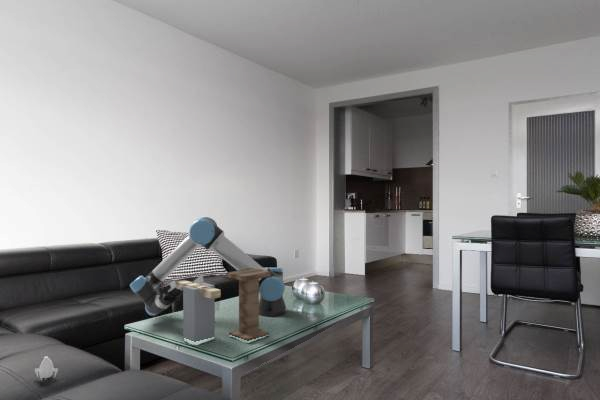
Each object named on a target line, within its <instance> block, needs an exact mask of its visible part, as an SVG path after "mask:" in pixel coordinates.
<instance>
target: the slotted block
mask: <svg viewBox="0 0 600 400" xmlns="http://www.w3.org/2000/svg"><path fill="white" fill-rule="evenodd" d="M199 284H201V285H204V286H208V287H212V288H216V286H215V285H214V284H210V283H206V282H202V283H199ZM182 296H183V298H182V299H183V300H182V302H183V303H182V306H183V307H182V309H183V310H182V311H183V315H182V316H183V318H182V319H183V320H182V321H183V322H182V323H183V326H182V327H183V328H182V329H183V331H182V333H183V338H186V339H189V340H191V341H194V342H196V341H200V340H204V339H208V338H212V337H215V338H216V333H215V332H216V331H215V329H216V327H215V326H216V325H215V324H216V322H215V321H216V317H215V315H216V307H215V305H216V304H215V303H216V301H215V300H216V298H215V299H210V298H207V297H203V296H200V295H199V289H198V288H194V287H191V286H184V287H183V294H182Z"/></svg>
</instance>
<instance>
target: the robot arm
mask: <svg viewBox="0 0 600 400" xmlns="http://www.w3.org/2000/svg"><path fill="white" fill-rule="evenodd" d="M199 247H203V248H205V250H207V251H213V252H214V253H215V254H216V255H218V256H219V257H220V258H222V259H223V261H225V262H226V263H228V264H229V265H230V266H231V267H233V268H234V269H235V271H238V270H243V269H249V268H255V269H260V270H265V271H270V276H269V277H264V278H259V316H263V317H278V316H279V317H280V316H282V315H285V314H286V313H287V305H286V303H285V300H284V299H285V298H284V297H283V296H284V293H285V287H286V286H285V283H284V278H283V277H284V270H283V268H282V267H268V266H267V267H263V266H262V265H260V264H259V263H258V262H257V261H255V260H254V259H253V258H252V257H251V256H250V255H248V254H247V253H245V251H244V250H242V249H241V248H240V247H238V246H237V245H236V244H235V243H234V242H232V241H231V240H230V239H229V238H227V237H226V236H225V231H224V230H222V228H220V227H219V226H218V224H217V222H216V221H215V220H214V219H213V218H211V217H209V216H208V217H201V218H198V219H196V220H194V222H192V224H191V225H190V227H189V232H188V235H187V236H186V238H185V237H184V239H183V240H182V241H181V242H180V243H179V244H178V245H177V246H176V247H175V248H174V249H173V250H172V251H171V252H170V253H169V254H168V255H166V257H165V258H164V259H163V260H162V261H160V263H158V265H157V266H155V268H154V269H153V270H152V271H150V272H149V273H148V274H147V275H146V276H145V277H144V276H143V275H139V276H138V277H137V278H135V279H134V280H133V281H132V282H131V283H130V284H129V287H130V289H131V291H132V292H133V293H134V295H135V294H136V296H137V297H138V298H139V299H140V301H142V302H143V304H144V305H145V306H144V310H145V312H146V314H148V315H149V316H157V315H158V314H160V313H162V312H163V311H165V310H167V309H168V308H169V307H170V306H171V305H172V304H174V303H176V302H177V300H178V297H179V296H181V295H183V290H180V289H176V287H177V285H176V282H177V281H176V280H172V281H171V282H169V284H167V285H165V286H163V288H161V287H159V286H160V284H162V283H163V282H164V281H165V280H166V279H167V278H168V277H169V276H170V275H171V274H172V273H174V272H175V270H176V269H177V268H178V267H179V266H180V265H181V264H182V263H184V261H186V260H187V259H188V258H189V257H190V256H191V255H192V254H193V253H194V252H195V251H196V250H197V249H198V248H199ZM192 282H193V283H197V284H199V283H205V279H204V276H203V275H201V274H200V275H199V276H198V277H197V278H195V279H194V280H193V281H192ZM158 287H159V288H158ZM157 288H158V291H157V290H156V289H157Z"/></svg>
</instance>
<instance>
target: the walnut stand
mask: <svg viewBox="0 0 600 400" xmlns="http://www.w3.org/2000/svg"><path fill="white" fill-rule="evenodd" d="M269 276H270V271H265V270H260V269H255V268H249V269H243V270H234V271H229V272H226V278H230V279H234V280H238V329H234V330H232V331H230V332H228V336H229V335H232V336H235V337H238V338H241V339H244V340H247V341H249V340H252V339H256V338H259V337H263V336H266V335H269V336H270V332H269V331H267V330H264V329H261V328H260V315H259V300H260V292H259V278H264V277H269Z"/></svg>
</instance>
